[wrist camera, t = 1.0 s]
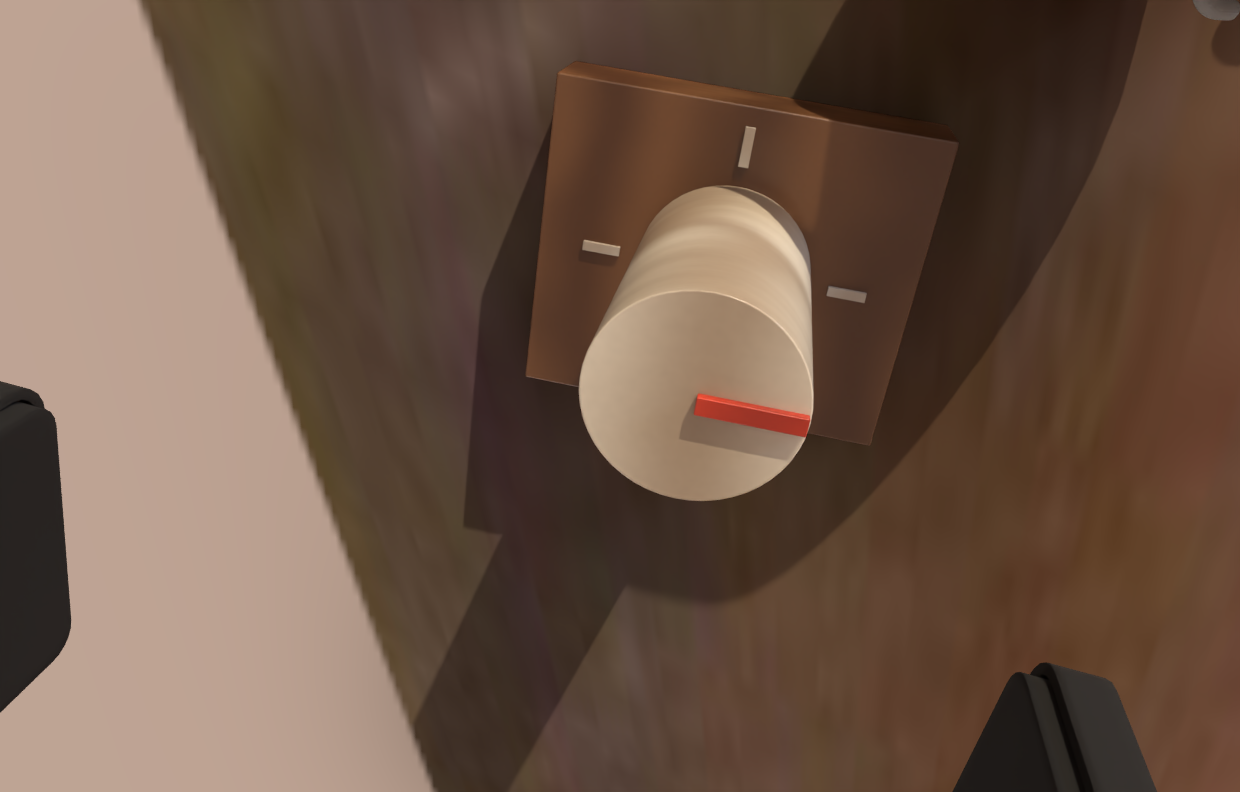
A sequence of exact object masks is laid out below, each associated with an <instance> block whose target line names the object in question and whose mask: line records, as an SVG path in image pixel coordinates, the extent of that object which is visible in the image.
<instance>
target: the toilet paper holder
mask: <svg viewBox="0 0 1240 792" xmlns="http://www.w3.org/2000/svg"><path fill="white" fill-rule="evenodd" d="M1193 3H1194V5H1195V7H1196V8H1197V10H1198V11H1199V12H1200V13H1201V14H1202V15H1203V16H1205V17H1207V18H1210V19H1213V20H1233V19H1234V18H1236V16H1237V15H1238V14H1239V11H1240V4H1239V2H1238V1H1236V0H1193Z"/></svg>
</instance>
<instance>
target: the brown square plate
mask: <svg viewBox="0 0 1240 792" xmlns="http://www.w3.org/2000/svg"><path fill="white" fill-rule="evenodd" d="M958 147H959V141H958V140H957V139H956V137H955V136H954V134H953V133H952V131H951V130H950V128H949V127H948V126H947V125H943V124H937V123H932V122H926V121H920V120H914V119H908V118H903V117H897V116H891V115H885V114H879V113H874V112H868V111H862V110H856V109H850V108H845V107H839V106H833V105H827V104H821V103H816V102H810V101H804V100H798V99H793V98H787V97H781V96H775V95H769V94H764V93H758V92H752V91H746V90H740V89H735V88H729V87H723V86H717V85H711V84H706V83H700V82H694V81H688V80H682V79H677V78H671V77H665V76H659V75H653V74H648V73H642V72H636V71H630V70H625V69H619V68H613V67H607V66H601V65H596V64H590V63H584V62H578V61H575V62H573V63H572V64H570V65H569V66H567V67H566V68H564V69H563V70H561V71H560V72H558V74H557V80H556V90H555V99H554V109H553V118H552V128H551V137H550V147H549V156H548V166H547V175H546V184H545V194H544V203H543V213H542V222H541V232H540V241H539V251H538V260H537V270H536V279H535V289H534V298H533V308H532V317H531V327H530V336H529V345H528V355H527V364H526V374H525V375H526V377H530V378H535V379H540V380H545V381H550V382H555V383H560V384H565V385H570V386H575V387H579V378H580V373H581V368H582V363H583V361H584V358H585V355H586V353H587V350H588V348H589V346H590V344H591V342H592V340H593V338H594V336H595V334H596V332H597V330H598V328H599V326H600V324H601V322H602V320H603V317H604V315H605V313H606V311H607V309H608V307H609V305H610V303H611V301H612V299H613V297H614V295H615V293H616V291H617V289H618V287H619V285H620V283H621V281H622V279H623V277H624V275H625V273H626V271H627V268H628V266H629V264H630V262H631V260H632V258H633V256H634V254H635V252H636V250H637V248H638V246H639V244H640V242H641V240H642V238H643V236H644V234H645V232H646V230H647V228H648V226H649V225H650V223H651V222H652V221H653V219H654V218H655V216H656V215H657V214H658V213H659V212H660V211H661V210H662V209H663V208H664V207H665V206H667V205H668V204H669V203H670V202H672V201H673V200H675V199H677V198H678V197H680V196H682V195H684V194H686V193H688V192H691V191H693V190H696V189H700V188H704V187H710V186H726V185H728V186H736V187H742V188H746V189H750V190H753V191H755V192H758V193H760V194H763V195H764V196H766V197H768V198H770V199H772V200H773V201H774V202H776V203H777V204H778V205H780V206H781V207H782V208H783V209H784V210H785V211H786V212H787V213H788V214H789V215H790V216H791V217H792V218H793V220H794V221H795V222H796V224H797V225H798V227H799V229H800V230H801V232H802V234H803V236H804V239H805V241H806V244H807V247H808V251H809V256H810V265H811V304H812V348H813V393H814V398H813V413H812V419H811V424H810V427H809V430H808V433H809V434H814V435H819V436H824V437H829V438H834V439H839V440H844V441H849V442H854V443H859V444H864V445H870V444H871V441H872V438H873V434H874V431H875V428H876V424H877V421H878V417H879V414H880V411H881V407H882V404H883V401H884V397H885V394H886V390H887V387H888V384H889V380H890V377H891V373H892V370H893V367H894V363H895V360H896V357H897V353H898V350H899V346H900V343H901V340H902V336H903V333H904V329H905V326H906V323H907V319H908V316H909V313H910V309H911V306H912V302H913V299H914V296H915V292H916V289H917V285H918V282H919V279H920V275H921V272H922V269H923V265H924V262H925V258H926V255H927V252H928V248H929V245H930V241H931V238H932V235H933V231H934V228H935V224H936V221H937V218H938V214H939V211H940V208H941V204H942V201H943V197H944V194H945V191H946V187H947V184H948V180H949V177H950V174H951V170H952V167H953V164H954V160H955V157H956V153H957V150H958Z"/></svg>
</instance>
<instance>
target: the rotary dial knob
mask: <svg viewBox="0 0 1240 792" xmlns="http://www.w3.org/2000/svg"><path fill="white" fill-rule="evenodd" d="M813 398H814V393H813V348H812V304H811V265H810V256H809V251H808V247H807V244H806V241H805V239H804V236H803V234H802V232H801V230H800V229H799V227H798V225H797V224H796V222H795V221H794V220H793V218H792V217H791V216H790V215H789V214H788V213H787V212H786V211H785V210H784V209H783V208H782V207H781V206H780V205H778V204H777V203H776V202H774V201H773V200H772V199H770V198H768V197H766V196H764V195H763V194H760V193H758V192H755V191H753V190H750V189H746V188H742V187H736V186H728V185H726V186H710V187H704V188H700V189H696V190H693V191H691V192H688V193H686V194H684V195H682V196H680V197H678V198H677V199H675V200H673V201H672V202H670V203H669V204H668V205H667V206H665V207H664V208H663V209H662V210H661V211H660V212H659V213H658V214H657V215H656V216H655V218H654V219H653V221H652V222H651V223H650V225H649V226H648V228H647V230H646V232H645V234H644V236H643V238H642V240H641V242H640V244H639V246H638V248H637V250H636V252H635V254H634V256H633V258H632V260H631V262H630V264H629V266H628V268H627V271H626V273H625V275H624V277H623V279H622V281H621V283H620V285H619V287H618V289H617V291H616V293H615V295H614V297H613V299H612V301H611V303H610V305H609V307H608V309H607V311H606V313H605V315H604V317H603V320H602V322H601V324H600V326H599V328H598V330H597V332H596V334H595V336H594V338H593V340H592V342H591V344H590V346H589V348H588V350H587V353H586V355H585V358H584V361H583V363H582V368H581V373H580V378H579V401H580V408H581V412H582V417H583V420H584V422H585V425H586V428H587V430H588V432H589V434H590V436H591V438H592V440H593V442H594V444H595V445H596V446H597V448H598V449H599V451H600V452H601V454H602V455H603V456H604V457H605V458H606V459H607V460H608V462H609V463H610V464H611V465H612V466H613V467H614V468H616V469H617V470H618V471H619V472H620V473H621V474H623V475H624V476H626V477H627V478H628V479H630V480H631V481H633V482H634V483H636V484H638V485H640V486H642V487H644V488H646V489H648V490H650V491H653V492H655V493H658V494H661V495H664V496H668V497H672V498H676V499H683V500H690V501H711V500H721V499H726V498H731V497H735V496H738V495H741V494H744V493H747V492H749V491H751V490H754V489H756V488H758V487H760V486H762V485H763V484H765V483H766V482H768V481H770V480H771V479H772V478H774V477H775V476H776V475H777V474H779V473H780V472H781V471H782V470H783V469H784V468H785V467H786V466H787V465H788V464H789V463H790V462H791V461H792V459H793V458H794V457H795V455H796V454H797V452H798V451H799V450H800V448H801V446H802V444H803V442H804V440H805V438H806V436H807V433H808V430H809V427H810V424H811V419H812V413H813Z"/></svg>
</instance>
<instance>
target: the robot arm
mask: <svg viewBox="0 0 1240 792" xmlns="http://www.w3.org/2000/svg"><path fill="white" fill-rule="evenodd" d="M61 495H62V494H61V482H60V468H59V455H58V442H57V428H56V422H55V418H54V416H53V415H52V413H51V412H50V411H48V410H46V409H45V408H44V404H43V401H42V399H41V398H40V396H39V395H38V394H37V393H36V392H34V391H32V390H30V389H27V388H23V387H19V386H16V385H12V384H8V383H4V382H1V381H0V712H1V711H2V710H4V708H6V706H7V705H8V704H10V702H12V701H13V700H14V699H15V698H16V697H17V696H18V695H19V694H20V693H21V692H22V691H23V690H24V689H25V688H26V687H27V686H28V685H29V684H30V683H31V682H32V681H33V680H34V679H35V678H36V677H37V676H38V675H39V674H40V673H41V672H42V671H44V670H45V668H47V667H48V666H49V665H50V664H51V663H52V662H53V661H54V660H55V658H56V657H57V656H58V655H59V653H60V652H61V650H62V649H63V647H64V645H65V643H66V641H67V639H68V636H69V632H70V629H71V612H70V599H69V586H68V574H67V561H66V560H67V559H66V546H65V533H64V520H63V508H62V496H61ZM953 792H1157V791H1156V788H1155V786H1154V783H1153V781H1152V778H1151V776H1150V773H1149V770H1148V768H1147V765H1146V763H1145V760H1144V758H1143V755H1142V753H1141V750H1140V748H1139V745H1138V743H1137V740H1136V738H1135V735H1134V733H1133V730H1132V728H1131V725H1130V723H1129V720H1128V718H1127V715H1126V713H1125V710H1124V708H1123V705H1122V703H1121V700H1120V698H1119V695H1118V693H1117V690H1116V689H1115V687H1114V685H1113V684H1112V682H1110V681H1109V680H1107V679H1106V678H1102V677H1099V676H1095V675H1091V674H1087V673H1084V672H1080V671H1076V670H1072V669H1069V668H1065V667H1061V666H1058V665H1054V664H1050V663H1040V664H1039V665H1038V666H1036V667H1035V668H1034V669H1033V671H1032V672H1031V674H1030V675H1029V674H1025V673H1022V672H1017V673H1015V674H1014V675H1012V676H1011V678H1010V679H1009V681H1008V682H1007V684H1006V686H1005V688H1004V690H1003V692H1002V694H1001V696H1000V698H999V700H998V702H997V704H996V706H995V708H994V710H993V712H992V714H991V716H990V718H989V720H988V722H987V724H986V726H985V728H984V730H983V732H982V734H981V736H980V738H979V740H978V742H977V744H976V746H975V748H974V750H973V752H972V754H971V756H970V758H969V760H968V762H967V764H966V766H965V768H964V770H963V772H962V774H961V776H960V778H959V780H958V782H957V784H956V786H955V788H954V790H953Z"/></svg>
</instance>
